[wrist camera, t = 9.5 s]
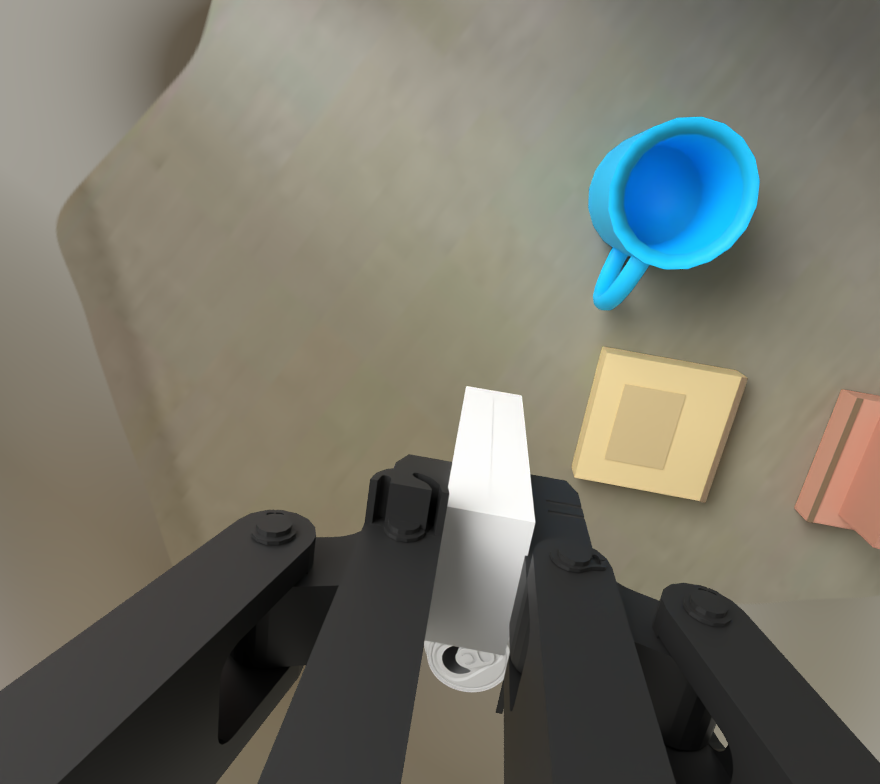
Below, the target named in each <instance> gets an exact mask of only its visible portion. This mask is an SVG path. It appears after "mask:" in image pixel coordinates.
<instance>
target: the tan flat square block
mask: <svg viewBox="0 0 880 784" xmlns="http://www.w3.org/2000/svg"><path fill="white" fill-rule="evenodd" d="M747 380H748V378H747V377H745V376H744V375H742V374H741V373H740V372H738V371H737V370H732V369H726V368H721V367H715V366H710V365H704V364H698V363H693V362H687V361H682V360H676V359H670V358H665V357H659V356H654V355H648V354H642V353H637V352H631V351H626V350H620V349H615V348H609V347H603V346H602V350H601V354H600V357H599V361H598V365H597V369H596V373H595V377H594V381H593V385H592V389H591V393H590V397H589V400H588V404H587V408H586V412H585V416H584V420H583V424H582V428H581V432H580V436H579V439H578V443H577V447H576V451H575V455H574V459H573V463H572V470H573V473H574V477H575V478H580V479H586V480H591V481H596V482H602V483H607V484H612V485H618V486H623V487H628V488H634V489H639V490H644V491H650V492H655V493H660V494H666V495H671V496H676V497H681V498H687V499H692V500H697V501H700V502H705V503H706V500H707V497H708V494H709V491H710V488H711V485H712V482H713V479H714V476H715V473H716V471H717V468H718V465H719V462H720V459H721V456H722V453H723V450H724V447H725V444H726V441H727V439H728V436H729V433H730V430H731V427H732V424H733V421H734V418H735V415H736V412H737V409H738V406H739V404H740V401H741V398H742V395H743V392H744V389H745V386H746V383H747Z"/></svg>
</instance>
